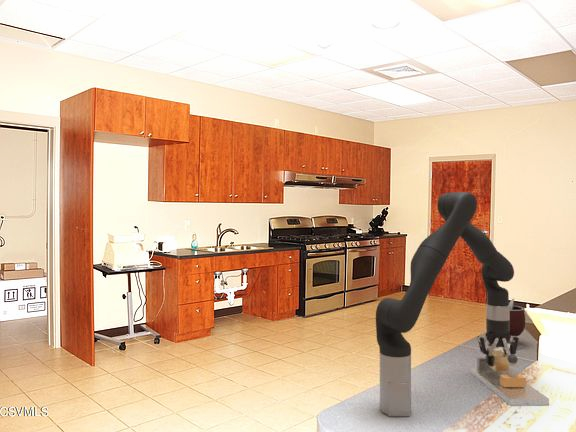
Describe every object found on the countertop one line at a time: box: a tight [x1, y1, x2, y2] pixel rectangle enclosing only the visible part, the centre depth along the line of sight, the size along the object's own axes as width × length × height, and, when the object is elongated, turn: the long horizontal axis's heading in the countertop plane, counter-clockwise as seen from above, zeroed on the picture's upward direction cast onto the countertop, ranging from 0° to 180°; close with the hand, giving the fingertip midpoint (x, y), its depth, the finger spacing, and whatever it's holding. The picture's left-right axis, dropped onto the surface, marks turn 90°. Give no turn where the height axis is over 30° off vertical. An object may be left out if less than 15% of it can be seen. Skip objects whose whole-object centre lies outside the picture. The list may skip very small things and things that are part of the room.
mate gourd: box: [498, 298, 526, 350], centre depth 211 cm, size 16×14×20 cm
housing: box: [486, 350, 509, 371], centre depth 165 cm, size 8×5×5 cm, turn 178°
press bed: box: [470, 356, 550, 406], centre depth 159 cm, size 30×12×6 cm, turn 1°
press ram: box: [500, 354, 527, 387], centre depth 154 cm, size 3×7×10 cm, turn 91°
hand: (498, 365), depth 165 cm, fingers closed on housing, 5 cm apart
